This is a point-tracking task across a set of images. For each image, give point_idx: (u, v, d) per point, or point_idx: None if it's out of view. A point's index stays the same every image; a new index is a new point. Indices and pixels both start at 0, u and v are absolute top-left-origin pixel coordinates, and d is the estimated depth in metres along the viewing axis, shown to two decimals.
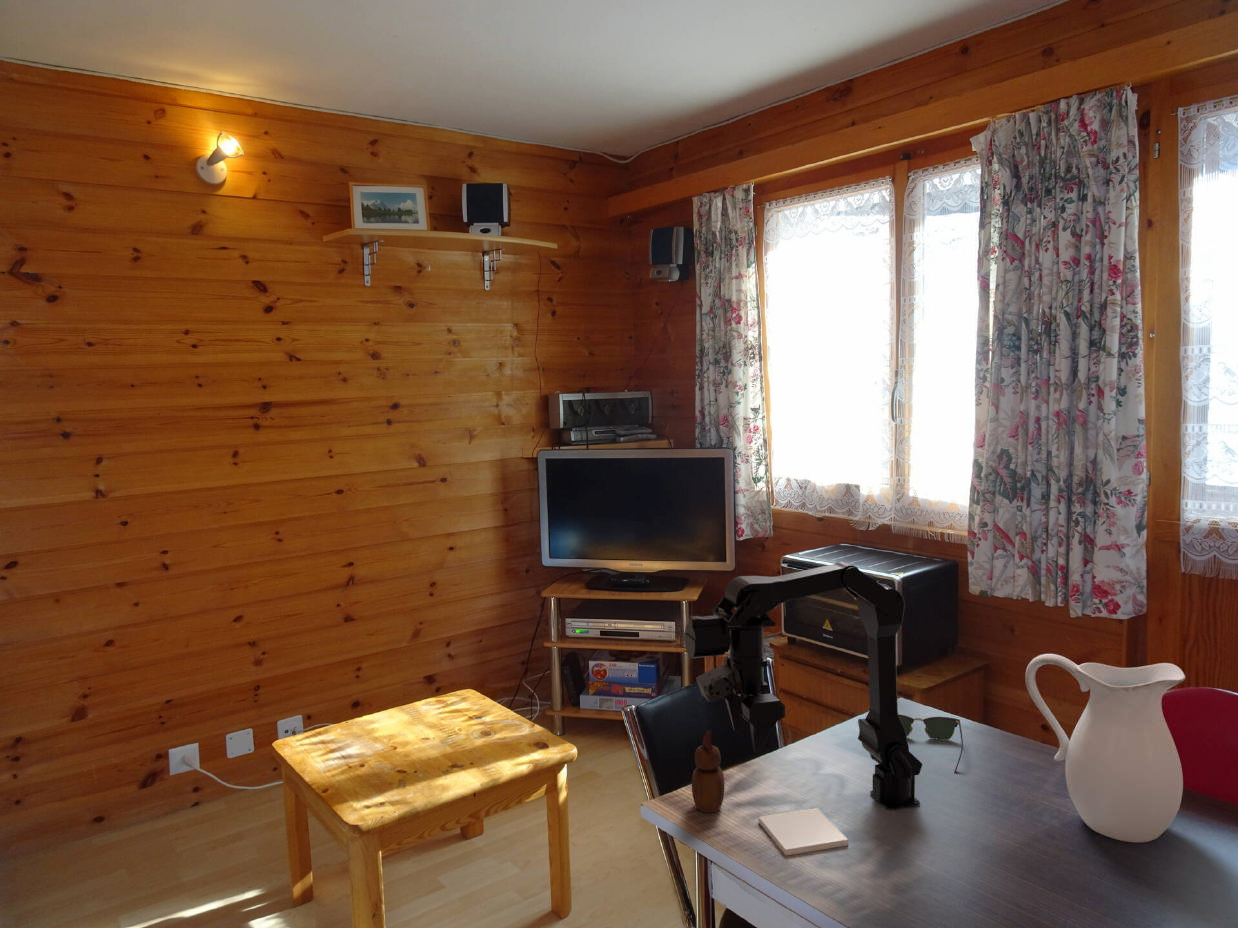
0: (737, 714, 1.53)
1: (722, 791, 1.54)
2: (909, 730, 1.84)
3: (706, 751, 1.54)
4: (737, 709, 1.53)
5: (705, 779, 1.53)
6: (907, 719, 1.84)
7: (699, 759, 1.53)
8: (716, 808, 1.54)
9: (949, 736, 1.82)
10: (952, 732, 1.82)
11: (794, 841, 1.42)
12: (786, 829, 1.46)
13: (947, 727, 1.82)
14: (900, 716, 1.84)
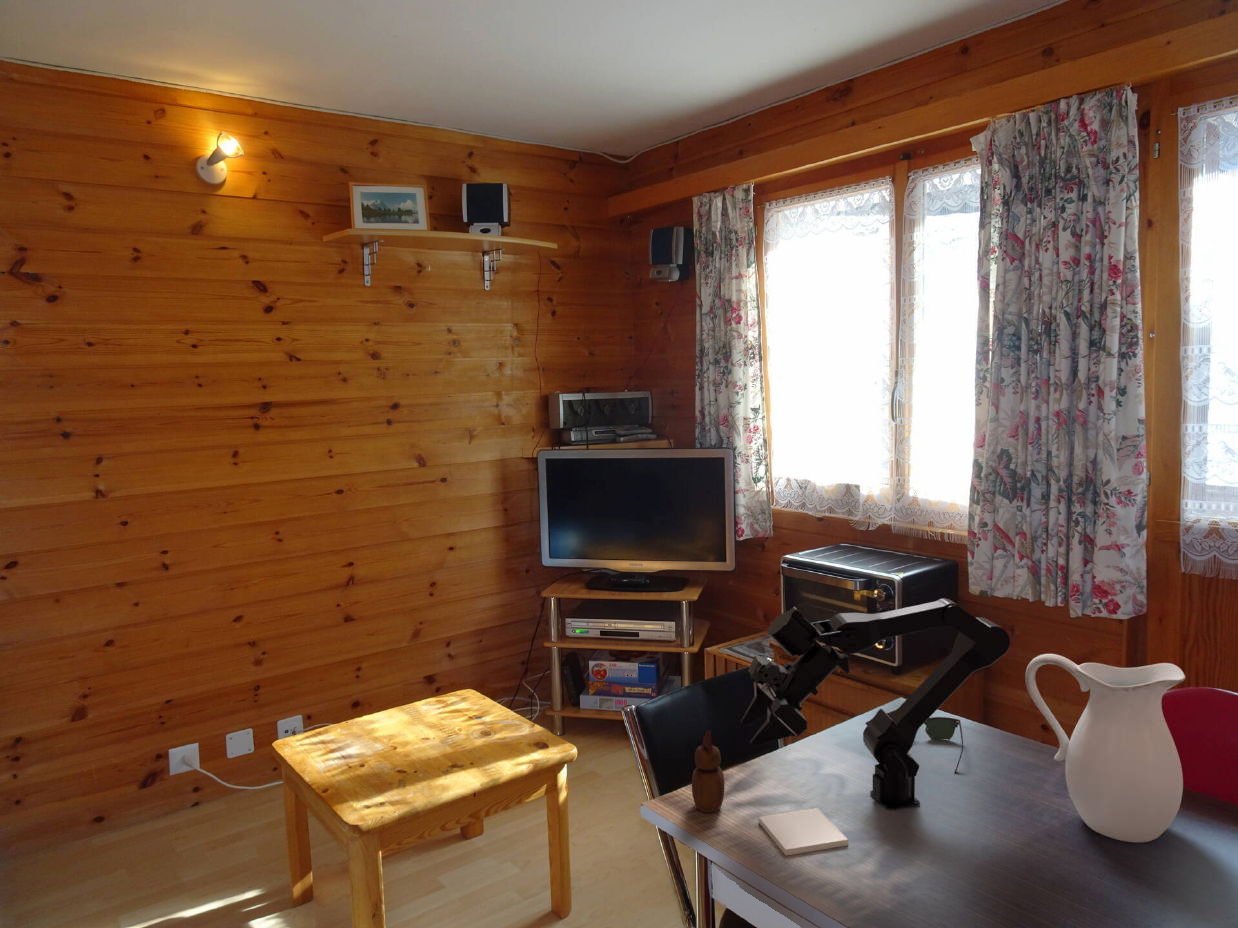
0: (753, 713, 1.60)
1: (722, 791, 1.54)
2: None
3: (706, 751, 1.54)
4: (757, 709, 1.60)
5: (705, 779, 1.53)
6: None
7: (699, 759, 1.53)
8: (716, 808, 1.54)
9: (949, 736, 1.82)
10: (952, 732, 1.82)
11: (794, 841, 1.42)
12: (786, 829, 1.46)
13: (947, 727, 1.82)
14: None
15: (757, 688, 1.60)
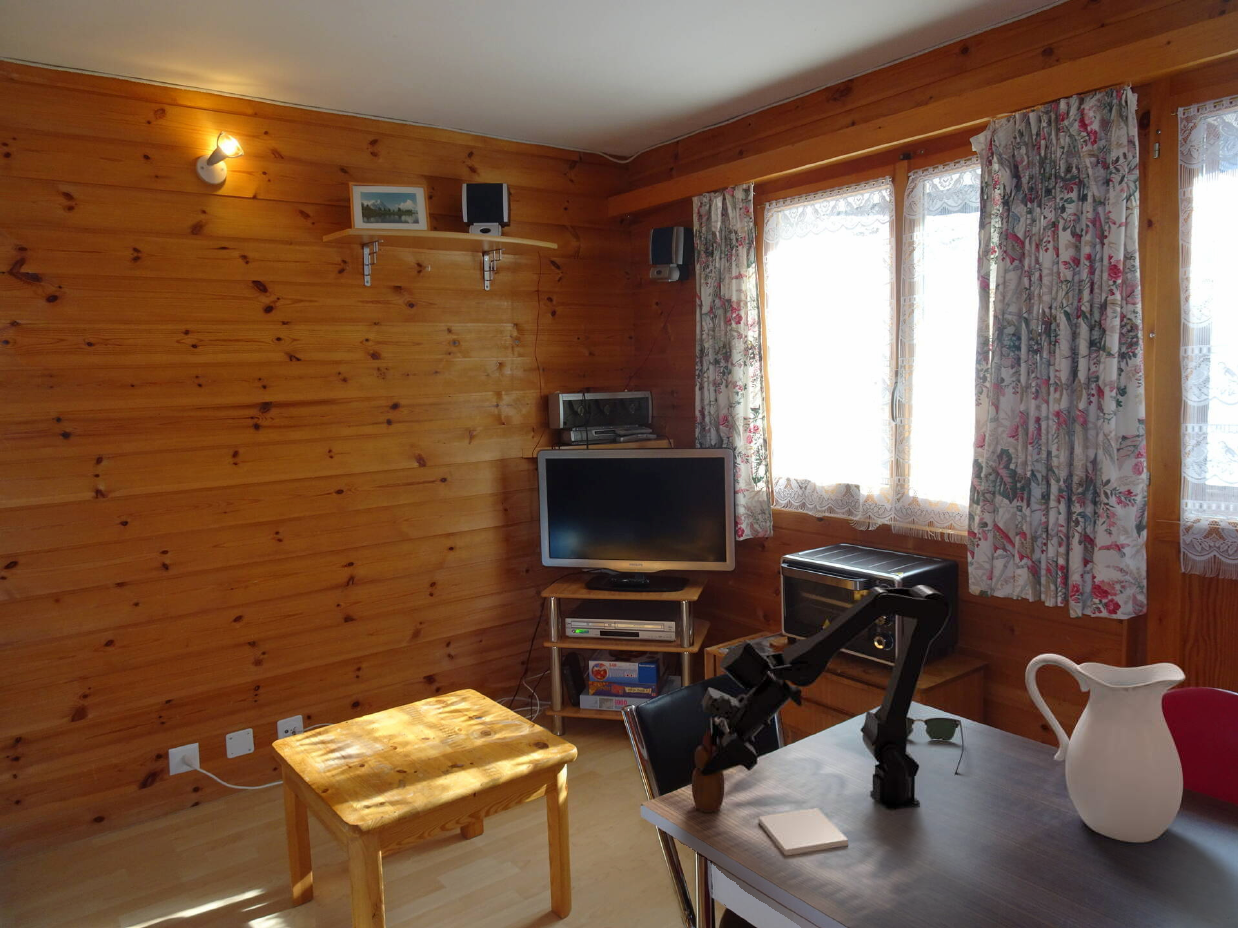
0: None
1: (722, 791, 1.54)
2: (910, 731, 1.83)
3: (706, 751, 1.54)
4: (713, 745, 1.58)
5: (705, 779, 1.53)
6: (908, 720, 1.84)
7: (699, 758, 1.53)
8: (716, 808, 1.54)
9: (950, 737, 1.82)
10: (953, 733, 1.81)
11: (794, 841, 1.42)
12: (786, 829, 1.46)
13: (947, 727, 1.82)
14: None
15: (713, 724, 1.58)
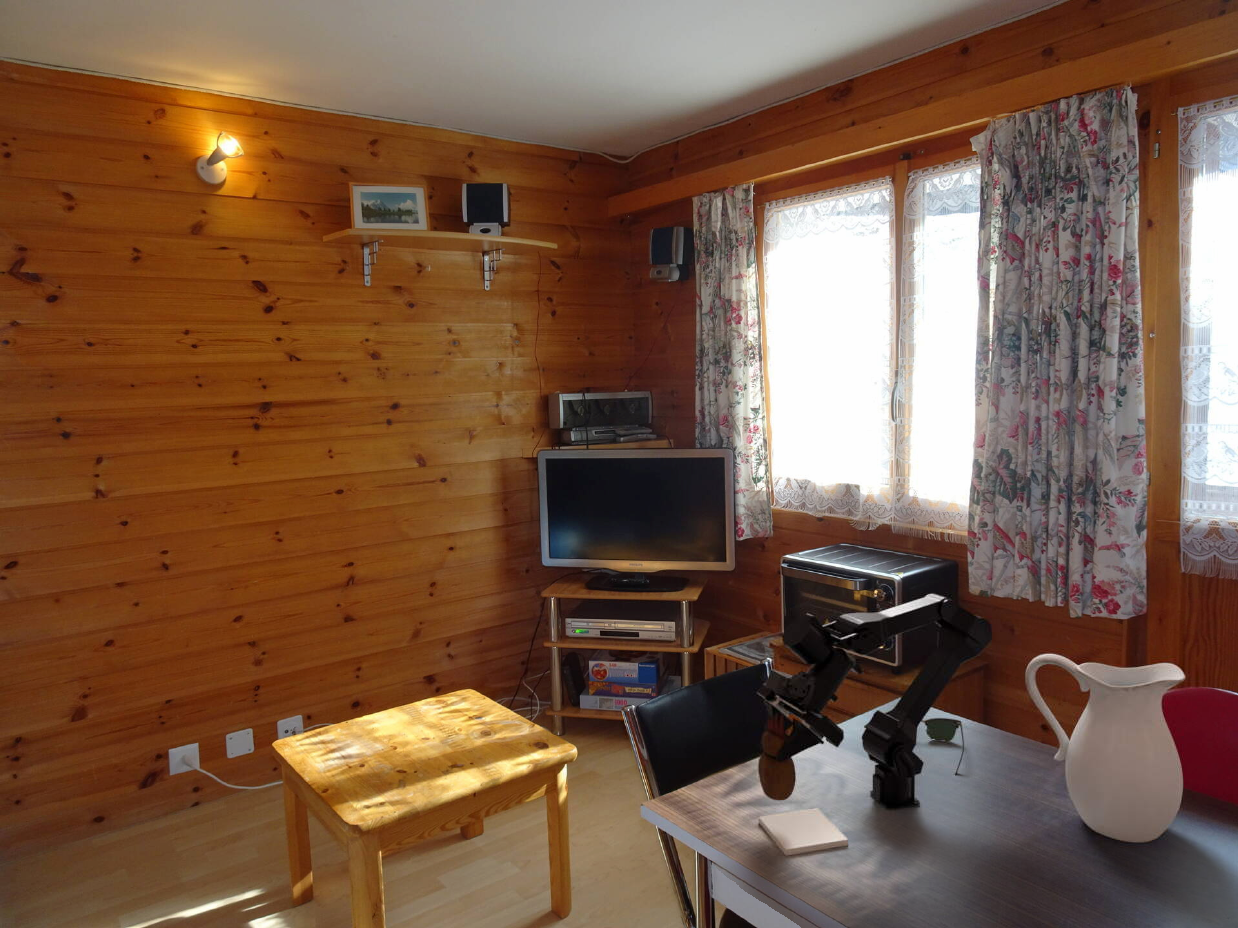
0: None
1: None
2: None
3: (778, 736, 1.45)
4: None
5: (781, 766, 1.44)
6: None
7: (773, 745, 1.44)
8: (790, 794, 1.46)
9: (950, 737, 1.81)
10: (953, 733, 1.81)
11: (794, 841, 1.42)
12: (786, 829, 1.46)
13: (948, 728, 1.82)
14: None
15: (773, 707, 1.50)
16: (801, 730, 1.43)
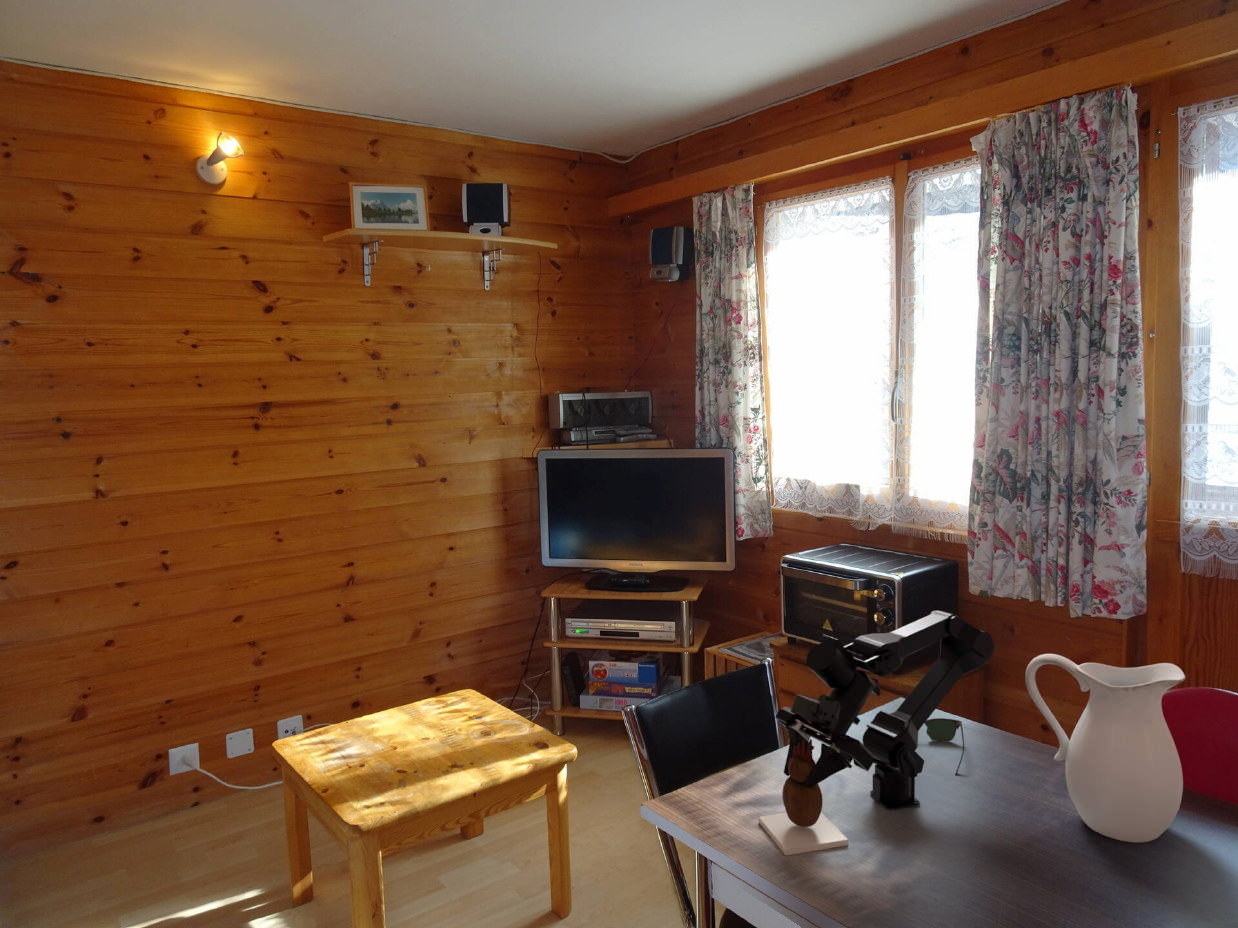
0: None
1: None
2: None
3: (806, 762, 1.44)
4: None
5: (810, 792, 1.43)
6: None
7: (801, 771, 1.43)
8: None
9: (951, 738, 1.81)
10: (954, 734, 1.81)
11: (794, 841, 1.42)
12: (786, 829, 1.46)
13: (948, 728, 1.82)
14: None
15: (796, 732, 1.48)
16: (830, 755, 1.42)
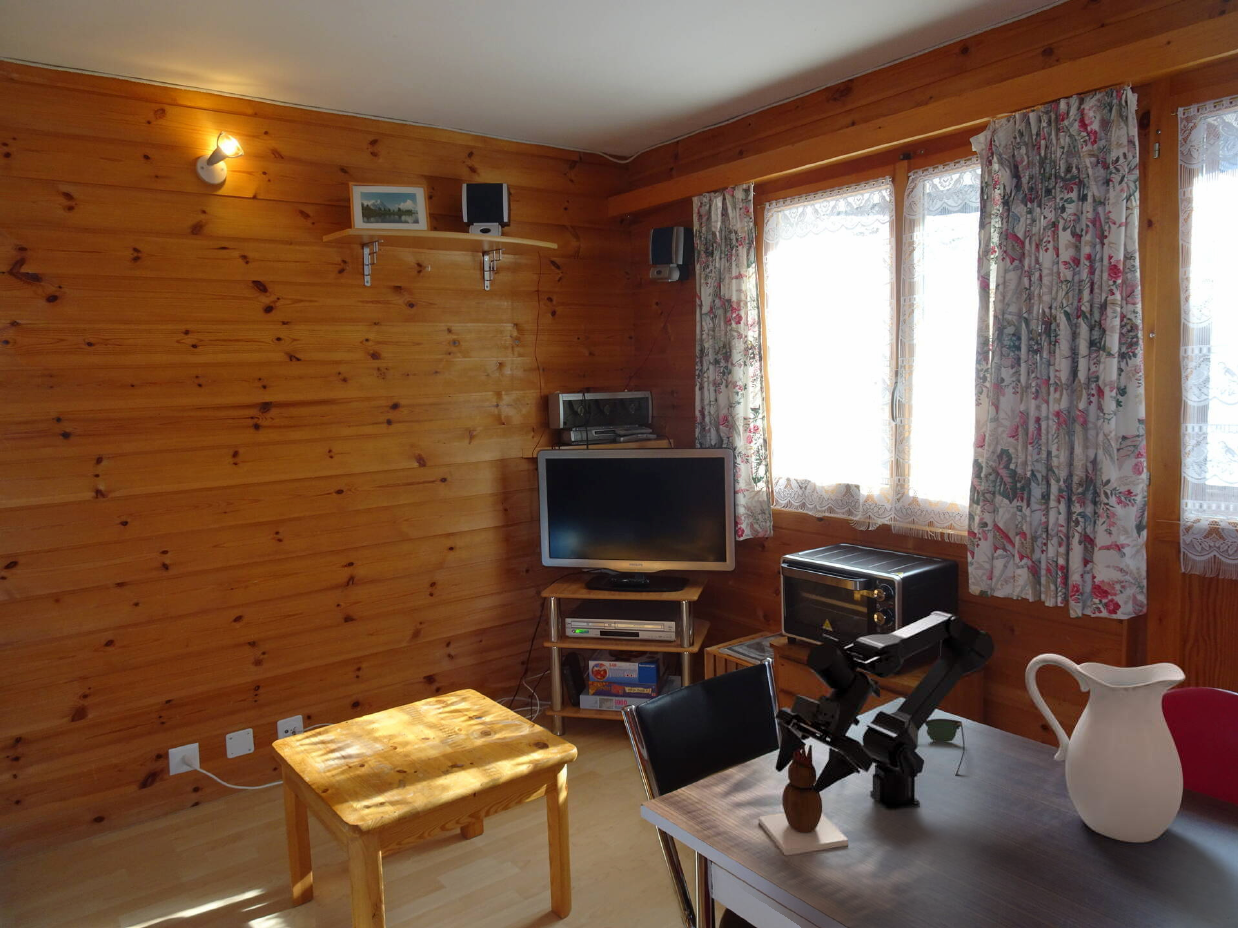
0: (786, 756, 1.50)
1: None
2: None
3: (806, 767, 1.44)
4: (789, 751, 1.50)
5: (810, 798, 1.43)
6: None
7: (801, 777, 1.43)
8: None
9: (951, 738, 1.81)
10: (954, 734, 1.81)
11: (794, 841, 1.42)
12: (786, 829, 1.46)
13: (948, 729, 1.81)
14: None
15: (788, 729, 1.50)
16: (838, 760, 1.40)
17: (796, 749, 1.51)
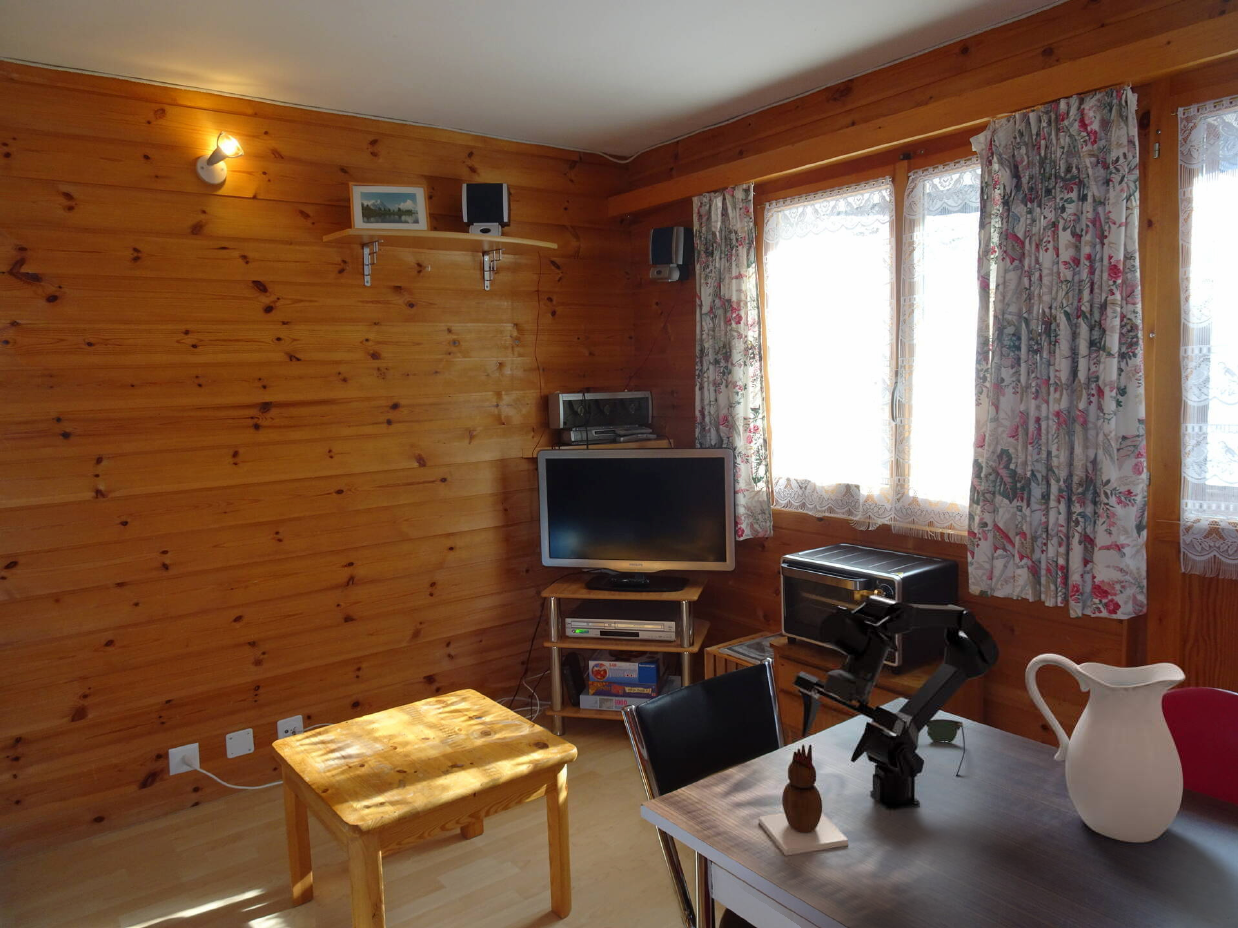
0: (810, 721, 1.52)
1: None
2: None
3: (805, 767, 1.44)
4: (812, 716, 1.52)
5: (810, 797, 1.43)
6: None
7: (801, 777, 1.43)
8: None
9: (951, 739, 1.81)
10: (954, 735, 1.81)
11: (794, 841, 1.42)
12: (786, 829, 1.46)
13: (949, 729, 1.81)
14: None
15: (812, 697, 1.51)
16: None
17: (816, 711, 1.53)
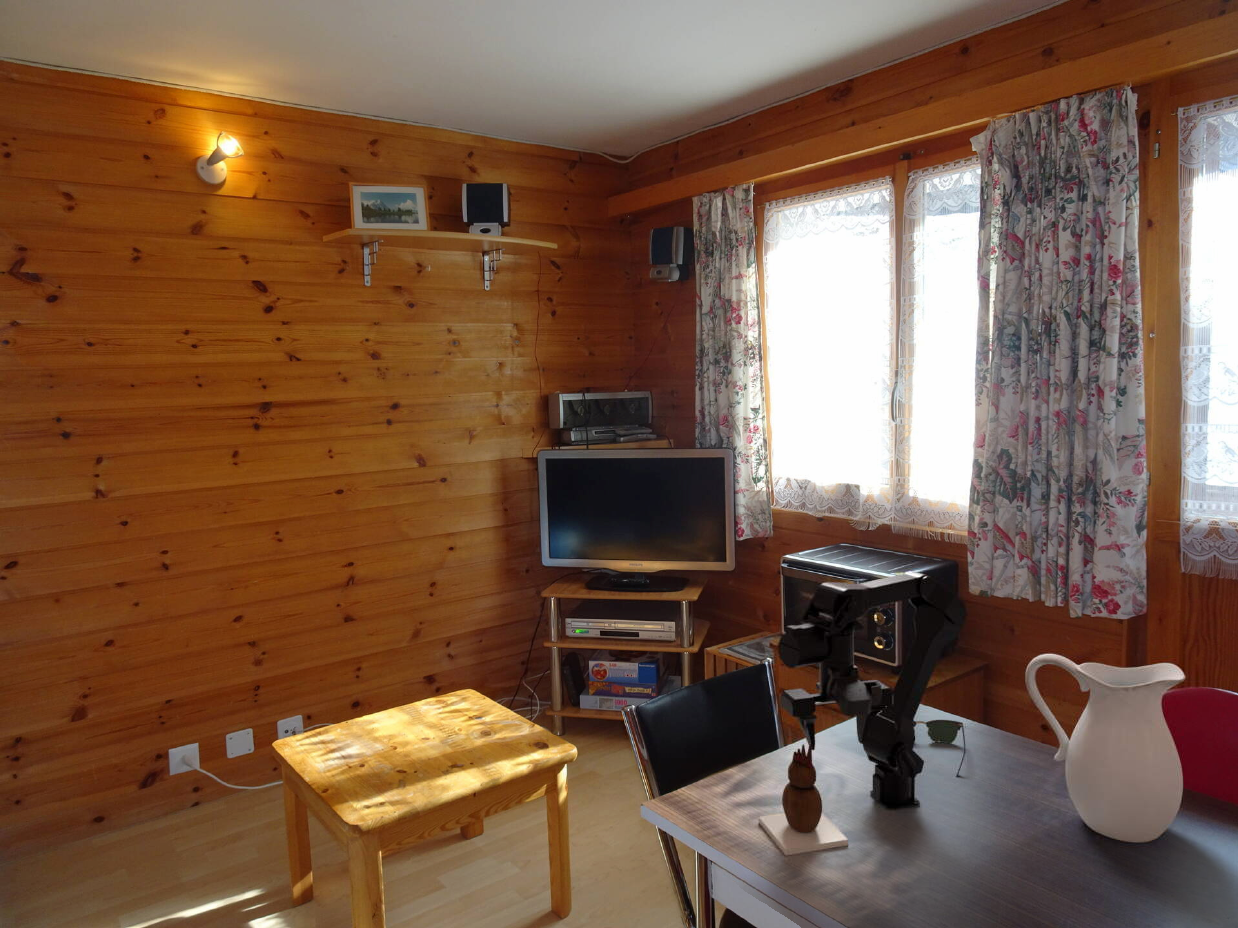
0: None
1: None
2: None
3: (805, 767, 1.44)
4: None
5: (810, 797, 1.43)
6: None
7: (801, 777, 1.43)
8: None
9: (952, 739, 1.81)
10: (955, 735, 1.80)
11: (794, 841, 1.42)
12: (786, 829, 1.46)
13: (949, 730, 1.81)
14: None
15: None
16: None
17: None
